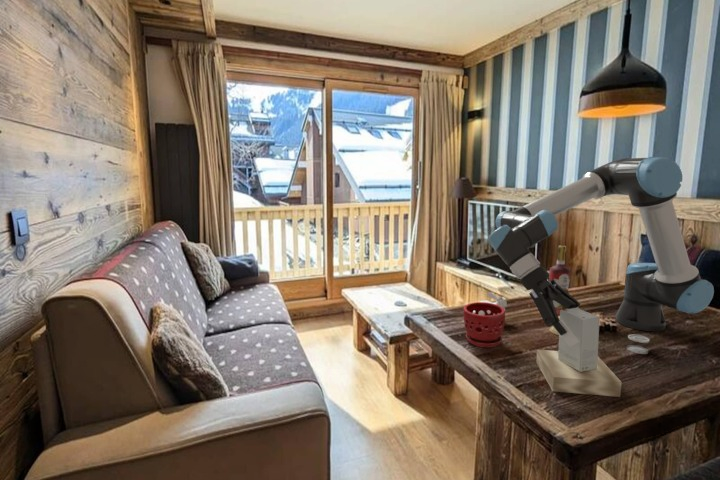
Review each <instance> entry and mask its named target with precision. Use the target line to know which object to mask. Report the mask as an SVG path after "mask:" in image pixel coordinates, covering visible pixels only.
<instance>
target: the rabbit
mask: <svg viewBox="0 0 720 480" xmlns="http://www.w3.org/2000/svg"><path fill="white" fill-rule="evenodd" d="M487 297H489V298H491V299H493V300H494V301H495V300H496V301H495V302H494V301H493V302H492V301H490V300H487V299H486V300H480V302H484V303H492V304H496V305H499V306H501V307H502V308H503V309H504V310H505V311H506V307H507V306H508V304H507V303H508V302H507V298H505V297H503V296H498V295H496V294H494V293H493V292H491V291H490V292H488V293H487ZM473 313H475V310H474V311H473ZM487 313H488V314H490V313H491V311H490V310H487ZM478 314H479V315H485V313H484V311H479V313H478ZM498 314H499V313H498ZM493 315H495V314H493Z"/></svg>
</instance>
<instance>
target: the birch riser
mask: <svg viewBox="0 0 720 480" xmlns="http://www.w3.org/2000/svg"><path fill="white" fill-rule="evenodd" d="M558 351H559V350H548V349H536V360H535V362H536V365H537V366H538V368H539V370H540V371H541V373H542V375H543V377H544V379H545V380H546V382H547V383H548V385H549V388H550V389H551V391H552V392H558V393H559V392H560V393H568V394H569V393H572V394H582V395H583V394H584V395H595V396H597V395H598V396H605V397H615V398H617V397H619V398H620V397H621V392H622V383H623V382H622V381H621V380H620V379H619V378H618V376H617V375H616V374H615V373H614V372H613V371H612V369H610V368H609V366H607V365H606V363H605V362H604V361H603V360H602V359H601V358H600V357H599V356H598V359H597V369H596V370H589V371H583V372H579V371H578V370H576V369H574V368H573V367H571V366H569V365H567V364H566V363H564V362H562V361H561V360H559V359H558Z"/></svg>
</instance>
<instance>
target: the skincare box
mask: <svg viewBox="0 0 720 480" xmlns="http://www.w3.org/2000/svg"><path fill="white" fill-rule="evenodd" d="M578 308H579V307H578ZM578 308H572V309H565V310H560V320H562V321H563V322H564V323H565V324H566V326H567V327H568V328H569V329H570V330H571V332H572V333H573V334H574V335H575V337H576V338H577V339H578V340H579V342H578V343H576V344H574V345H573V346H571V347H569V346H568V344H567V343H566V342H565V341H564V339H563V338H562V337H561V336H560V334H559V336H558V350H557V351H558V359H559V360H561V361H562V362H564V363H566V364H567V365H569V366H571V367H573V368H574V369H576V370H578V371H579V372H583V371H589V370H596V369H597V359H598V357H599V356H598V355H599V339H600V338H599V334H600V333H599V332H600V316H599V315H597V314H594V313H591V312H588V311H585V310H582V309H580V308H579V309H578Z"/></svg>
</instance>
